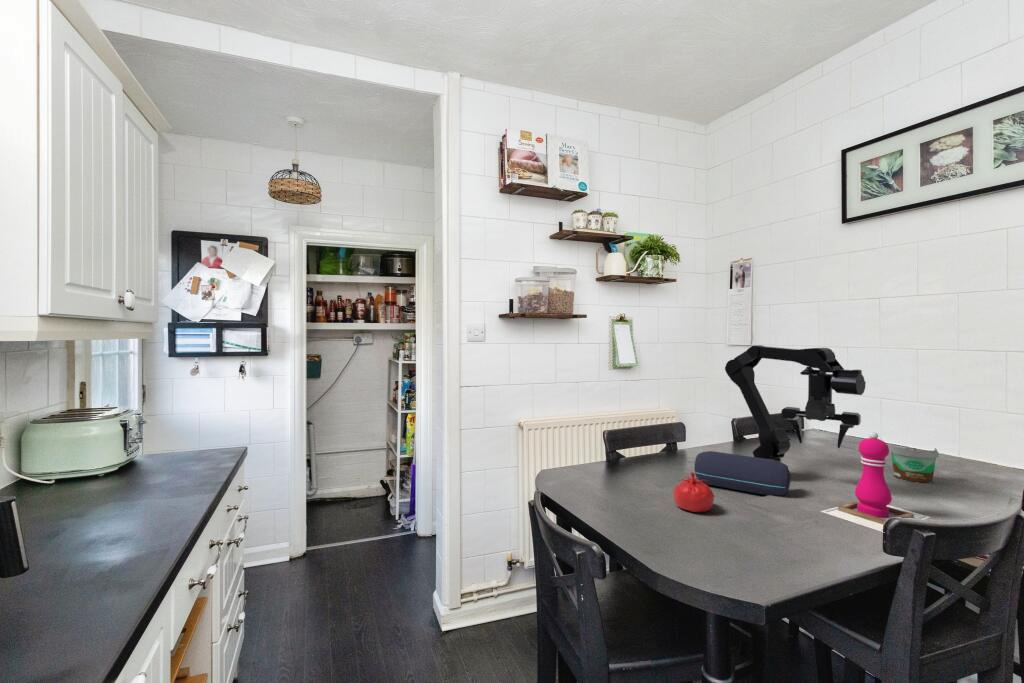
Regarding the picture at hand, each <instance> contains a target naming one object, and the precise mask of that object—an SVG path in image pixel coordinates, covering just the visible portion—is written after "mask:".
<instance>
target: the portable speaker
mask: <svg viewBox="0 0 1024 683" xmlns="http://www.w3.org/2000/svg"><path fill="white" fill-rule="evenodd" d="M693 470H694V474H695V477H696V478H697V477H699V478H700V479H697V481H699V480H702V481H701V482H702V483H704V484H706V485H708V486H713V487H719V488H724V489H729V490H734V491H735V490H736V491H741V492H747V493H752V494H756V495H757V494H758V495H763V496H767V495H768V496H775V497H776V496H777V497H785V496H786V493H787V492H788V490H789V489H790V485H791V473H790V470H789V466H788V465H787V464H786V463H784V462H782V461H781V462H779V461H777V460H771V459H764V458H757V457H754V456H748V455H743V454H742V455H741V454H733V453H728V452H727V453H726V452H720V451H715V450H714V451H712V450H711V451H710V450H709V451H702V452H699V453H698V454H697V455H696V457H695V461H694V468H693ZM705 480H707V481H705Z"/></svg>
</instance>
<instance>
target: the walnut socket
mask: <svg viewBox="0 0 1024 683" xmlns="http://www.w3.org/2000/svg"><path fill="white" fill-rule="evenodd" d="M858 502H860V501H859V500H857V501H854V502H850V503H845V504H842V505H838V506H837V507H838V511H841V512H845V513H848V514H851V515H854V516H857V517H860V518H863V519H867V520H870V521H873V522H876V523H879V524H882V525H884V522H885V521H886V520H887V519H886V520H885V519H882V518H878V517H875V516H872V515H869V514H865V513H862V512H859V511H856V510H852V509H854V508H857V503H858ZM886 507H887V506H886ZM888 508H889V512H890V513H893V514H897V515H899V516H896V517H901V518H914V514H912V513H908V512H905V511H901V510H898V509H894V508H891V507H888ZM893 518H894V517H893Z"/></svg>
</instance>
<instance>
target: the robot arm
mask: <svg viewBox="0 0 1024 683" xmlns="http://www.w3.org/2000/svg"><path fill="white" fill-rule="evenodd" d="M762 359H767V360H776V361H785V362H793V363H796V364H797V363H798V364H799V365H802V366H805V369H804V370H802V371H801V372H800V375H802V376H808V378H807V380H808V382H807V384H808V387H807V388H808V390H807V391H808V392H807V401H806V404H805V408H804V410H801V408H800V407H794V406H786V407H784V408H783V409H781V412H780V414H781V415H780V417H781V419H782V418H783V419H785V420H786V422H789V423H790V424H791V426H792V427H793V429H794V431H795V433H796V437H797V439H798V441H799V444H803V427H802V426H803V425H802V418H805V419H806V420H808V421H812V420H815V421H821V422H824V421H825V422H826V420H829V421H837V422H838V421H839V422H840V424H839V431H838V432H839V434H838V438H837V449H840V448H841V445H842V443H843V440H844V439H845V436H846V434H847V432H848V430H849V429H853V428H854V427H855V426H860V425H861V421H862V420H861V418H862V416H861V414H860V413H859V412H852V411H851V412H850V411H843V412H841V413H836V405H835V403H833V402H832V401H833V399H832V398H833V391H834V392H835V393H837V394H844V395H855V396H862V395H863V394H864V393H865V390H866V381H865V377H864V375H863V373H862V371H863V370H861V369H845V368H844V367H843V366H842V365H841V363H839V361H838V359H836V354H835V352H834V351H833V350H832V349H831V348H827V347H814V348H813V347H812V348H810V347H809V348H800V349H799V348H785V347H775V346H767V345H762V344H758V345H751V346H750V347H749V348H747V349H746V350H744V352H742V353H740V354H739V355H737V356H735V358H733V359H729V360H728V361H727V362H726V364H725V366H724V371H725V373H726V375H727V376H728V377H729V379H730V381H732V382H733V383H734V385H736V386H737V387H738V388H739V390H740V392H741V394H742V397H743V399H744V401H745V403H746V405H747V407H748V409H749V412H750V413H751V416H752V418H753V421H754V422H755V425H756V426H757V429H758V438H757V439H758V441H759V446H758V447H756V448H755V449H754V450H753V451H752V455H753V457H757V458H764V459H771V460H777V461H779V462H782V459H783V458H784V457H785V454H786V453H788V452H789V450H790V448H791V442H790V441H791V440H792V439H791V438H790V437H789V436H788V434H787V431H786V428H784V427H778V426H777V425H776V424H775V422H774V420H773V418H772V415H771V414H770V413H769V410H768V408H767V406H766V404H765V402H764V400H763V398H762V396H761V393H760V391H759V389H758V386H757V385H756V383H755V377H756V376H755V371H754V369H755V367H756V366H757V365H759V363H760V362H761V361H762Z"/></svg>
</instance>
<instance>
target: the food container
mask: <svg viewBox="0 0 1024 683" xmlns="http://www.w3.org/2000/svg"><path fill="white" fill-rule="evenodd" d="M888 447H889V446H888ZM889 453H891V454H890V455H891V461H892V471H893V477H894V478H895V477H896V478H895V479H899V480H901V479H902V480H901V481H904V480H906V481H905V482H909V481H910V483H915V482H919V483H918V484H930V483H929V482H931V483H933V480H934V473H935V467H936V466H935V465H936V460H937V458H939V457H940V454H939V452H938V448H936V447H935V448H934V450H928V449H927V450H926V449H920V448H915V447H913V448H911V447H910V448H909V447H908V448H907V447H906V448H904V447H899V446H898V447H897V446H894V445H893V444H890V447H889Z"/></svg>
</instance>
